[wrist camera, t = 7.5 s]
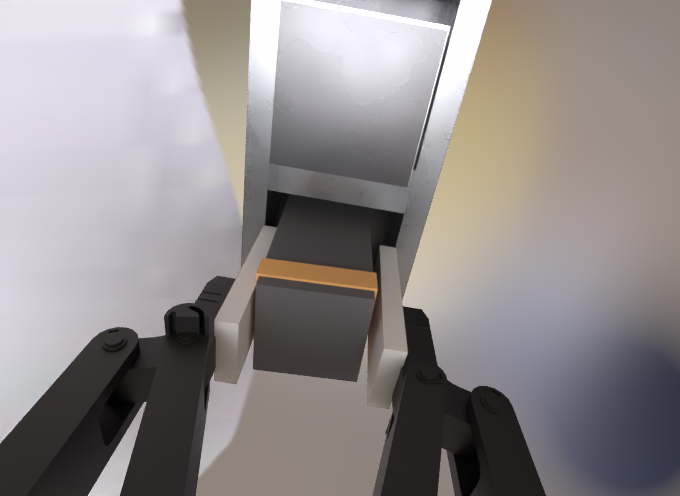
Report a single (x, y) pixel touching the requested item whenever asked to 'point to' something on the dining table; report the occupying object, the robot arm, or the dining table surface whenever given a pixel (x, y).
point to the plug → (315, 291)
